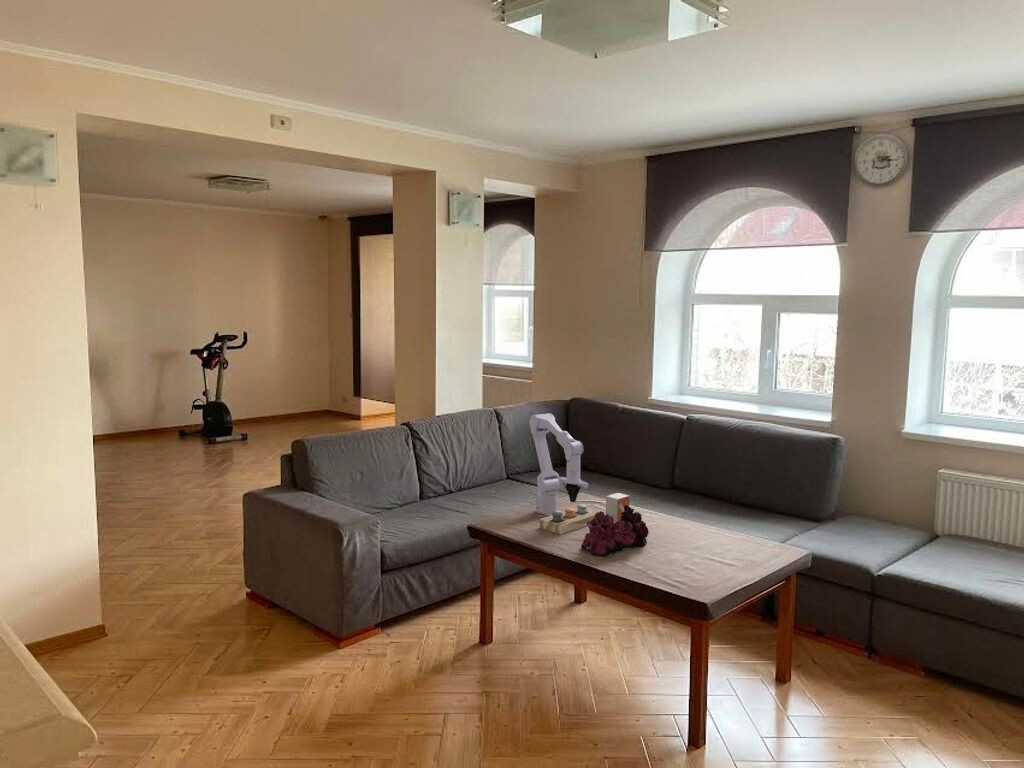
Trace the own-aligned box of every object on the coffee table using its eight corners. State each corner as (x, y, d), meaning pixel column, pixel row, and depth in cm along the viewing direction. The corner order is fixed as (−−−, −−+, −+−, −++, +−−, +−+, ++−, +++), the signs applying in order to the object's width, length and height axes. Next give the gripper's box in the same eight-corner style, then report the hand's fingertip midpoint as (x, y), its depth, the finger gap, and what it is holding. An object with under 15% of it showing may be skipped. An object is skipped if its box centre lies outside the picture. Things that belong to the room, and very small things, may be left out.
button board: (539, 527, 308) (539, 519, 307) (577, 515, 324) (577, 507, 324) (561, 534, 299) (561, 526, 299) (598, 521, 316) (598, 513, 315)
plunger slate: (574, 513, 317) (574, 505, 316) (581, 511, 320) (581, 503, 320) (582, 515, 314) (582, 507, 313) (589, 513, 317) (589, 505, 316)
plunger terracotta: (562, 517, 311) (562, 509, 311) (569, 515, 314) (569, 507, 314) (570, 519, 308) (570, 511, 308) (577, 517, 311) (577, 509, 311)
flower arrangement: (617, 531, 304) (618, 495, 302) (659, 542, 291) (660, 505, 289) (571, 551, 281) (572, 512, 279) (615, 564, 268) (616, 524, 266)
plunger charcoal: (549, 521, 306) (549, 513, 305) (556, 519, 309) (556, 511, 308) (557, 524, 303) (557, 515, 302) (564, 521, 306) (564, 513, 305)
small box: (616, 529, 305) (617, 499, 303) (604, 526, 310) (605, 496, 308) (629, 525, 311) (629, 495, 309) (617, 522, 315) (617, 492, 314)
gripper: (593, 471, 308) (592, 503, 310) (566, 465, 318) (565, 496, 320) (582, 474, 303) (581, 506, 305) (555, 468, 313) (555, 499, 315)
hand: (573, 501), depth 312 cm, fingers closed
